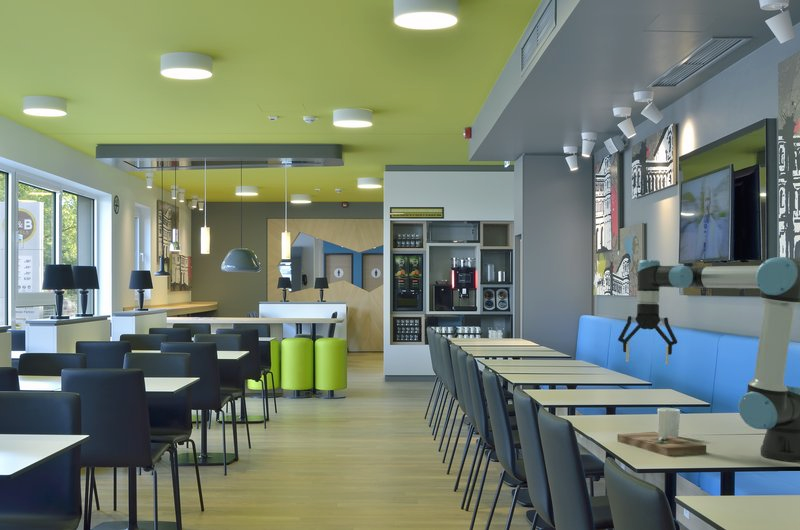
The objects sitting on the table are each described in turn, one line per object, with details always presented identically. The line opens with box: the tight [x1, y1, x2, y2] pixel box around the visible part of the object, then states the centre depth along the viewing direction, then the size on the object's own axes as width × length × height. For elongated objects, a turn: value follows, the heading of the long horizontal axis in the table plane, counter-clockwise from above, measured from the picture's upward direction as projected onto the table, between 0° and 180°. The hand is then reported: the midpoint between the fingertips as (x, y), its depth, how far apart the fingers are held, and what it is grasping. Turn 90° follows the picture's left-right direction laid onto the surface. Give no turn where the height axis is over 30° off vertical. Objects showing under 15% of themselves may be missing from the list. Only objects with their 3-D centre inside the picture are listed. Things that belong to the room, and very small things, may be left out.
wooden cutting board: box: [616, 431, 707, 457], centre depth 284 cm, size 26×16×3 cm, turn 22°
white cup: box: [657, 407, 681, 438], centre depth 304 cm, size 8×8×10 cm
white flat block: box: [657, 409, 668, 441], centre depth 282 cm, size 2×11×10 cm, turn 154°
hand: (647, 362), depth 298 cm, fingers open, 13 cm apart
